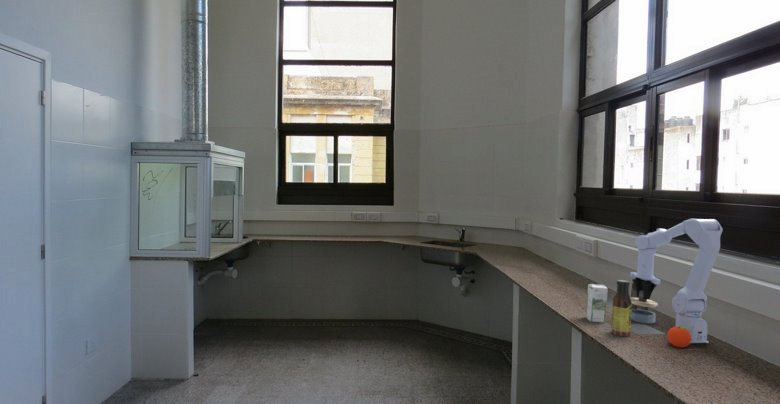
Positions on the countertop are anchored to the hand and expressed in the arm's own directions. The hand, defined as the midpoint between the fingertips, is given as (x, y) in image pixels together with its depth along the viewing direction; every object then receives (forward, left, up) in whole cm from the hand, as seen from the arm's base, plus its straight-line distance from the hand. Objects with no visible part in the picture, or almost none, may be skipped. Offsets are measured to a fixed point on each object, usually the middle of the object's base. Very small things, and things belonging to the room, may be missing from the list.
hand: (643, 297), depth 180 cm
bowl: (0, 0, -9) cm, 9 cm away
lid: (0, 0, -2) cm, 2 cm away
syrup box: (+1, +20, -10) cm, 23 cm away
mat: (-11, +10, -9) cm, 17 cm away
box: (+13, -10, -10) cm, 19 cm away
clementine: (-28, +8, -10) cm, 31 cm away
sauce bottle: (-15, +21, -10) cm, 28 cm away
